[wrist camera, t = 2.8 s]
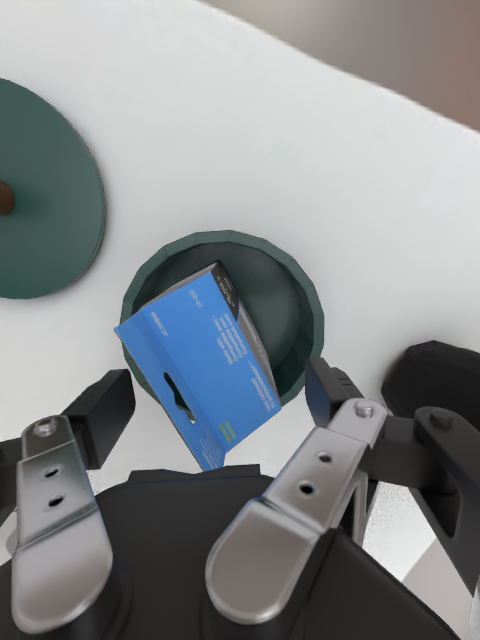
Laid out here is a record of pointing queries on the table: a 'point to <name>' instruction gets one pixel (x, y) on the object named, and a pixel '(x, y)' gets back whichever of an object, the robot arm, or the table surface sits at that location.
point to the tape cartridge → (204, 362)
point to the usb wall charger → (8, 538)
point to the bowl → (256, 295)
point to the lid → (44, 197)
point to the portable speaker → (436, 382)
